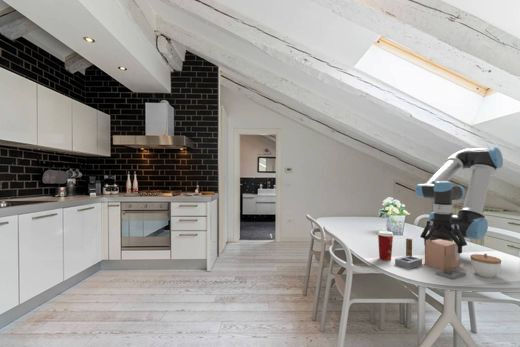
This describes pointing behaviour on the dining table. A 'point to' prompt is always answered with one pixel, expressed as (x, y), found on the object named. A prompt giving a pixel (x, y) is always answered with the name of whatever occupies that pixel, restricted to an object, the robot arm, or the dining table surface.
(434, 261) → the block
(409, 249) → the pin
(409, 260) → the grey hollow block
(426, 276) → the dining table surface
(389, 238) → the paper cup
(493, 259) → the lidded jar
